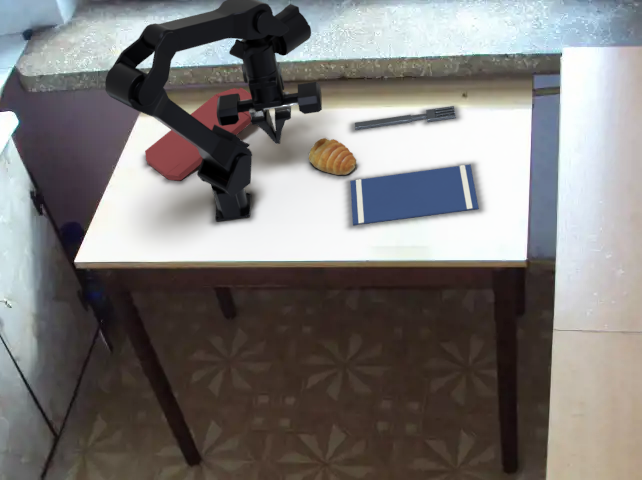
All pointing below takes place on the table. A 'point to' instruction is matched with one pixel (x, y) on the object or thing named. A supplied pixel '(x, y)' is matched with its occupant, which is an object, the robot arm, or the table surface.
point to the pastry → (332, 157)
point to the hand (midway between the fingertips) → (277, 142)
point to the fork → (410, 118)
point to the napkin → (413, 194)
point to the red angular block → (181, 156)
